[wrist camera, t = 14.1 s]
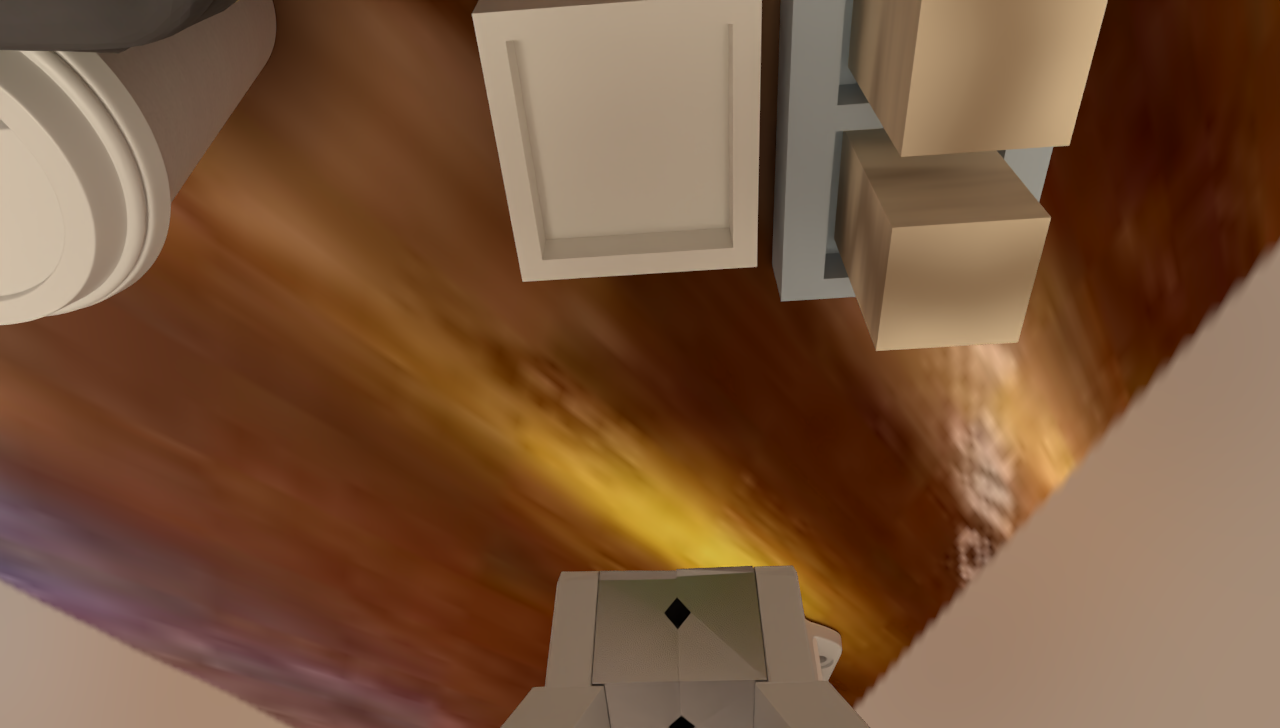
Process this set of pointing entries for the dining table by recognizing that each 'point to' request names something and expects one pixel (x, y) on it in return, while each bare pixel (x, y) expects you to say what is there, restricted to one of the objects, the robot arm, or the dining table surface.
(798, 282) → the grey hollow frame
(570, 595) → the robot arm
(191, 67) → the coffee cup
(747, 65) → the tray
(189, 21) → the coffee jar
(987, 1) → the block
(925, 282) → the seated block
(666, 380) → the dining table surface
